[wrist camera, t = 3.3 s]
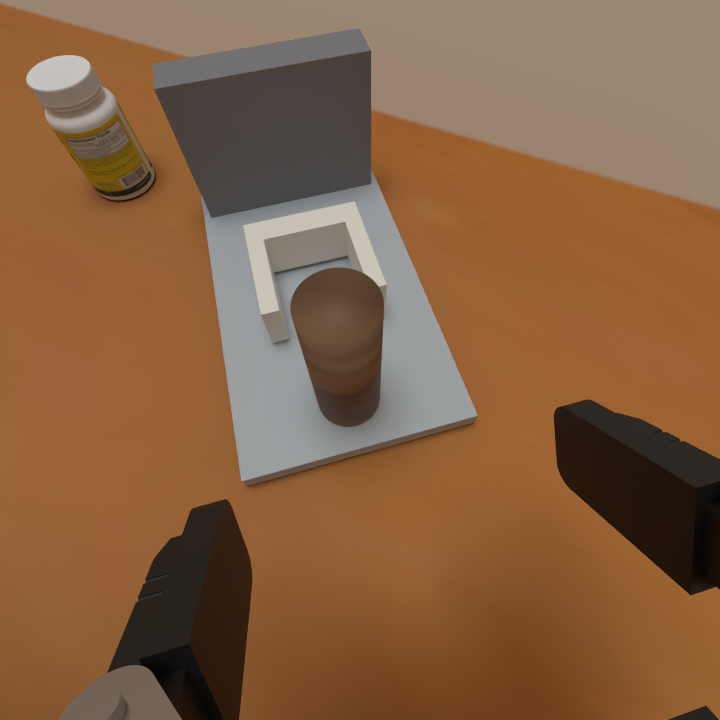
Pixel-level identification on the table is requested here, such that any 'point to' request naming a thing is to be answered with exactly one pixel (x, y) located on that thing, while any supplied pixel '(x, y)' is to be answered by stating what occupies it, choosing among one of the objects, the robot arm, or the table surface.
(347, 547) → the table surface
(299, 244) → the cradle
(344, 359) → the dowel
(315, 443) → the board with wall
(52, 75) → the supplement bottle
